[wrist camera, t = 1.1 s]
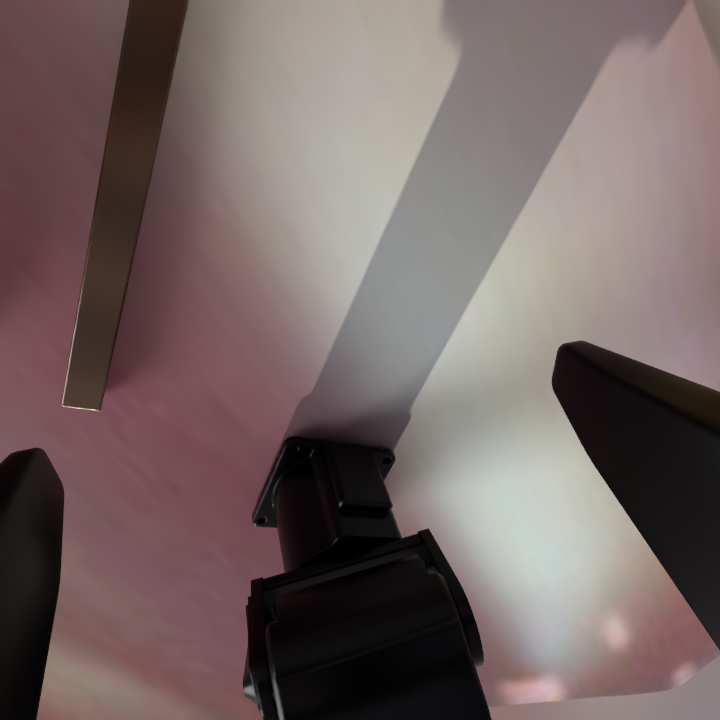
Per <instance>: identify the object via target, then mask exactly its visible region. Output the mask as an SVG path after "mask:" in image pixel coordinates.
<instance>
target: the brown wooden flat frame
mask: <svg viewBox="0 0 720 720" xmlns="http://www.w3.org/2000/svg"><path fill="white" fill-rule="evenodd" d="M187 4H188V0H130V1H129V7H128V13H127V19H126V25H125V31H124V37H123V43H122V49H121V55H120V60H119V66H118V72H117V78H116V84H115V90H114V96H113V102H112V108H111V114H110V120H109V125H108V131H107V137H106V143H105V149H104V155H103V161H102V167H101V173H100V179H99V185H98V190H97V196H96V202H95V208H94V214H93V220H92V226H91V232H90V238H89V244H88V250H87V255H86V261H85V267H84V273H83V279H82V285H81V291H80V297H79V303H78V309H77V315H76V320H75V326H74V332H73V338H72V344H71V350H70V356H69V362H68V368H67V374H66V380H65V385H64V391H63V397H62V403H61V405H62V406H63V407H70V408H78V409H85V410H93V411H100V410H101V406H102V401H103V397H104V392H105V387H106V383H107V378H108V373H109V369H110V364H111V359H112V355H113V350H114V345H115V341H116V336H117V331H118V327H119V322H120V317H121V313H122V308H123V303H124V299H125V294H126V289H127V284H128V280H129V275H130V270H131V266H132V261H133V256H134V252H135V247H136V242H137V238H138V233H139V228H140V224H141V219H142V214H143V210H144V205H145V200H146V196H147V191H148V186H149V182H150V177H151V172H152V167H153V163H154V158H155V153H156V149H157V144H158V139H159V135H160V130H161V125H162V121H163V116H164V111H165V107H166V102H167V97H168V93H169V88H170V83H171V79H172V74H173V69H174V65H175V60H176V55H177V51H178V46H179V41H180V36H181V32H182V27H183V22H184V18H185V13H186V8H187Z"/></svg>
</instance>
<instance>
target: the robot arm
mask: <svg viewBox="0 0 720 720" xmlns="http://www.w3.org/2000/svg"><path fill="white" fill-rule="evenodd" d="M552 387H553V390H554V393H555V395H556V397H557V398H558V400H559V402H560V404H561V406H562V408H563V410H564V412H565V414H566V415H567V417H568V419H569V421H570V423H571V425H572V427H573V429H574V431H575V432H576V434H577V436H578V438H579V440H580V442H581V444H582V446H583V447H584V449H585V451H586V453H587V454H588V456H589V458H590V459H591V461H592V462H593V464H594V466H595V467H596V469H597V470H598V472H599V473H600V475H601V476H602V477H603V479H604V480H605V482H606V483H607V485H608V486H609V488H610V489H611V491H612V492H613V494H614V495H615V497H616V498H617V500H618V501H619V503H620V504H621V505H622V507H623V508H624V510H625V511H626V513H627V514H628V516H629V517H630V519H631V520H632V522H633V523H634V525H635V526H636V528H637V529H638V531H639V532H640V533H641V535H642V536H643V538H644V539H645V541H646V542H647V544H648V545H649V547H650V548H651V550H652V551H653V553H654V554H655V556H656V557H657V559H658V560H659V561H660V563H661V564H662V566H663V567H664V569H665V570H666V572H667V573H668V575H669V576H670V578H671V579H672V581H673V582H674V584H675V585H676V587H677V588H678V589H679V591H680V592H681V594H682V595H683V597H684V598H685V600H686V601H687V603H688V604H689V606H690V607H691V609H692V610H693V612H694V613H695V615H696V616H697V617H698V619H699V620H700V622H701V623H702V625H703V626H704V628H705V629H706V631H707V632H708V634H709V635H710V637H711V638H712V640H713V641H714V643H715V644H716V645H717V647H718V648H719V650H720V392H719V391H716V390H713V389H711V388H708V387H705V386H703V385H700V384H697V383H694V382H692V381H689V380H686V379H684V378H681V377H678V376H676V375H673V374H670V373H668V372H665V371H662V370H660V369H657V368H654V367H652V366H649V365H646V364H644V363H641V362H638V361H636V360H633V359H630V358H628V357H625V356H622V355H620V354H617V353H614V352H612V351H609V350H606V349H604V348H601V347H598V346H596V345H593V344H590V343H588V342H585V341H575V342H570V343H565V344H562V345H561V346H560V347H559V349H558V351H557V355H556V360H555V365H554V370H553V375H552ZM291 446H295V447H291ZM386 457H388V458H386ZM384 458H386V459H384ZM394 462H395V455H394V453H393V451H392V450H390V449H384V448H377V447H369V446H362V445H354V444H347V443H339V442H332V441H324V440H317V439H309V438H302V437H290V438H287V439H286V440H285V441H284V442H283V445H282V447H281V449H280V452H279V454H278V456H277V459H276V461H275V463H274V465H273V468H272V470H271V472H270V475H269V477H268V479H267V482H266V484H265V486H264V489H263V491H262V493H261V496H260V498H259V500H258V503H257V505H256V507H255V510H254V512H253V514H252V520H253V524H254V525H255V526H259V527H274V528H278V534H279V541H280V547H281V553H282V559H283V565H284V571H285V573H282V574H279V575H275V576H272V577H268V578H265V579H263V577H261V578H258V579H255V580H251V596H250V597H248V605H247V606H246V616H247V627H248V648H247V655H246V663H245V670H244V677H243V689H244V693H245V696H246V697H247V698H248V699H250V700H251V701H252V702H254V703H255V704H257V705H258V709H259V712H260V714H261V716H262V717H263V720H491V717H490V713H489V709H488V706H487V702H486V699H485V696H484V693H483V690H482V687H481V684H480V680H479V677H478V674H477V671H476V668H475V667H477V666H480V665H483V662H484V657H483V649H482V644H481V639H480V635H479V631H478V628H477V624H476V621H475V618H474V615H473V612H472V610H471V607H470V604H469V602H468V599H467V597H466V595H465V593H464V590H463V588H462V586H461V584H460V583H459V581H458V579H457V577H456V576H455V574H454V572H453V570H452V569H451V567H450V565H449V563H448V562H447V560H446V558H445V556H444V555H443V553H442V551H441V549H440V548H439V546H438V544H437V542H436V541H435V539H434V537H433V535H432V534H431V532H430V530H429V529H425V530H421V531H418V534H414V535H411V536H408V537H404V538H402V536H401V533H400V531H399V528H398V526H397V523H396V520H395V518H394V515H393V512H392V510H391V508H392V502H391V499H390V496H389V494H388V491H387V489H386V486H385V483H384V479H385V478H386V476H387V474H388V472H389V471H390V469H391V467H392V465H393V464H394ZM63 512H64V489H63V485H62V482H61V480H60V478H59V476H58V474H57V473H56V471H55V469H54V467H53V465H52V463H51V462H50V460H49V458H48V456H47V454H46V453H45V451H43V450H42V449H40V448H32V449H27V450H22V451H17V452H14V453H11V454H10V455H9V456H8V457H7V458H5V459H4V460H3V461H2V462H1V463H0V720H36V719H37V713H38V707H39V702H40V696H41V690H42V684H43V679H44V673H45V667H46V661H47V656H48V650H49V644H50V639H51V633H52V627H53V621H54V616H55V610H56V604H57V598H58V592H59V585H60V573H61V554H62V533H63Z"/></svg>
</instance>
